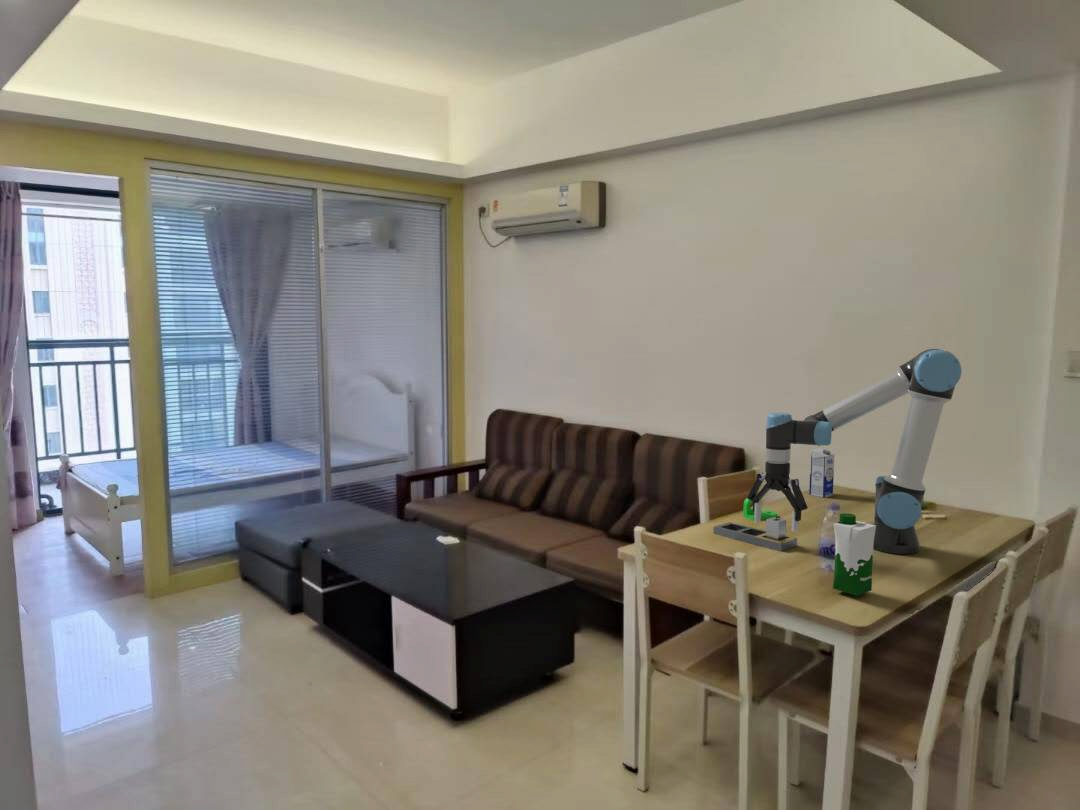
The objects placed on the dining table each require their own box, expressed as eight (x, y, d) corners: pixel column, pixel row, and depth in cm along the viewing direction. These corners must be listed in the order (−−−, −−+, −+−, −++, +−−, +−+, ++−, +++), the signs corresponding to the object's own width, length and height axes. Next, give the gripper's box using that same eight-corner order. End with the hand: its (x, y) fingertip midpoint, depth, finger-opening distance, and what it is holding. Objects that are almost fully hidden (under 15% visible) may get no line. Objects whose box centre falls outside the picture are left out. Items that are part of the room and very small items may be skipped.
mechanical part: (753, 522, 265) (754, 500, 264) (743, 518, 270) (743, 497, 270) (780, 519, 269) (781, 498, 268) (769, 515, 275) (770, 494, 274)
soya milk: (845, 581, 203) (848, 510, 201) (877, 591, 195) (880, 517, 193) (827, 588, 198) (830, 515, 195) (859, 598, 190) (862, 523, 188)
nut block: (785, 543, 236) (786, 519, 235) (777, 546, 233) (778, 521, 233) (773, 540, 240) (774, 516, 239) (765, 543, 237) (766, 518, 236)
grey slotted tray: (796, 545, 236) (797, 537, 235) (781, 551, 230) (781, 543, 230) (729, 529, 256) (729, 521, 255) (713, 533, 250) (713, 526, 250)
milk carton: (817, 494, 307) (819, 447, 305) (833, 497, 302) (834, 449, 300) (808, 497, 303) (810, 449, 300) (824, 500, 297) (826, 451, 295)
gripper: (820, 465, 227) (817, 532, 229) (751, 454, 246) (749, 516, 248) (807, 468, 222) (805, 536, 224) (737, 457, 241) (736, 520, 243)
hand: (775, 526), depth 236 cm, fingers open, 13 cm apart
